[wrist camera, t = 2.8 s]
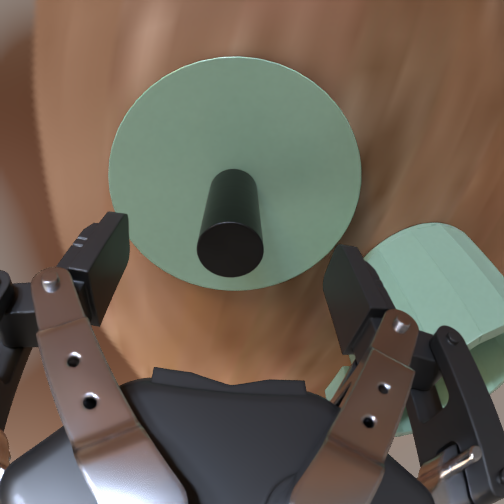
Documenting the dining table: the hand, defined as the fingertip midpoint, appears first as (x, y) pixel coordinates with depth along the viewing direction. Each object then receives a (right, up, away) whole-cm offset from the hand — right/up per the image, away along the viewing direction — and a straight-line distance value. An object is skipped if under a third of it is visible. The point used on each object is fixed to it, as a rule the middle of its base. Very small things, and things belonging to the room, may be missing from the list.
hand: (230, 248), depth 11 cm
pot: (+13, -3, +10) cm, 17 cm away
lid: (0, +3, +4) cm, 6 cm away
